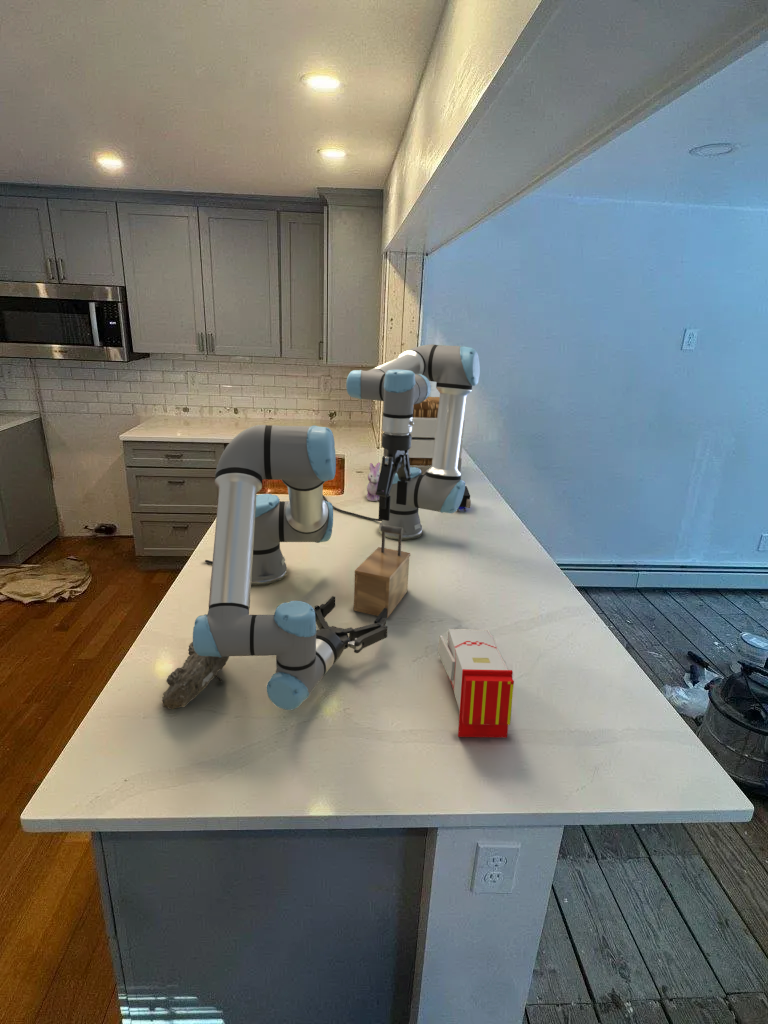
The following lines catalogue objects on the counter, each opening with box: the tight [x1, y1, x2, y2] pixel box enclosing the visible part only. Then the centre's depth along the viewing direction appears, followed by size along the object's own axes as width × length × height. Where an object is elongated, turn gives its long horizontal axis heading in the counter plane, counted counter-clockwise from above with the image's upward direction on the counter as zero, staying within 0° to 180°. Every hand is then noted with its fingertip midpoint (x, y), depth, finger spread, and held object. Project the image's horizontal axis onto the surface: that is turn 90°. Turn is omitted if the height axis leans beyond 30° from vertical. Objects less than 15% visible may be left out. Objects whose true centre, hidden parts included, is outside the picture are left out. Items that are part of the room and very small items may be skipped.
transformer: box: [383, 396, 465, 474], centre depth 268 cm, size 34×33×41 cm
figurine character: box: [456, 485, 472, 513], centre depth 228 cm, size 7×8×15 cm
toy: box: [437, 628, 515, 738], centre depth 117 cm, size 12×13×30 cm
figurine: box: [365, 462, 381, 502], centre depth 233 cm, size 9×10×15 cm
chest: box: [353, 556, 411, 619], centre depth 152 cm, size 16×10×11 cm, turn 159°
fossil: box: [161, 641, 230, 710], centre depth 117 cm, size 22×10×15 cm
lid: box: [354, 524, 412, 581], centre depth 149 cm, size 17×10×9 cm, turn 159°
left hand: (359, 607), depth 137 cm, fingers open, 13 cm apart
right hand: (392, 511), depth 151 cm, fingers open, 13 cm apart
